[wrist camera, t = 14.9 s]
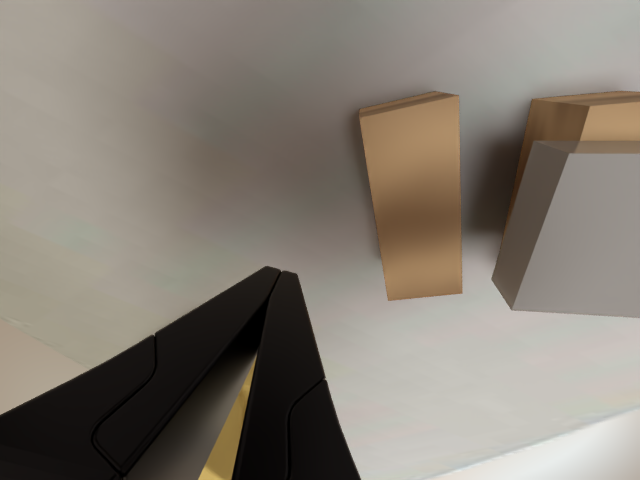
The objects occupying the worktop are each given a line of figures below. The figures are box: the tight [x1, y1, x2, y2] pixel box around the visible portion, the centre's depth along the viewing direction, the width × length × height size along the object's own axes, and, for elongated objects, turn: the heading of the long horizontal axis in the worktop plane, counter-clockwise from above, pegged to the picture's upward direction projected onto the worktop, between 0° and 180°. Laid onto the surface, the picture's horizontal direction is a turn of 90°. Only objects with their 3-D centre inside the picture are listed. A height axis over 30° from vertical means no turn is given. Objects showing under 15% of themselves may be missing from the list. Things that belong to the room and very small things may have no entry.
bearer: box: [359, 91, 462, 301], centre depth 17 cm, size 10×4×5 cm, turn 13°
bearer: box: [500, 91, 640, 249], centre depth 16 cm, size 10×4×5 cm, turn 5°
